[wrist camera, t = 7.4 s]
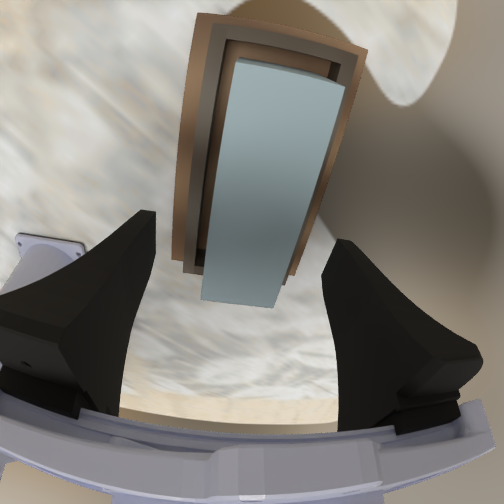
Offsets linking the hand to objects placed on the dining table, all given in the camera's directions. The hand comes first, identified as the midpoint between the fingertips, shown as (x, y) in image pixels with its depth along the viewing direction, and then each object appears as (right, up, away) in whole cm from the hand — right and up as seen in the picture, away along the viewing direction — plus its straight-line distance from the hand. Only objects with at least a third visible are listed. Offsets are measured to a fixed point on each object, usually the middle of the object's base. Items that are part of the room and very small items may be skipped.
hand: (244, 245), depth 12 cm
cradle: (+1, +6, +7) cm, 9 cm away
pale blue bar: (+1, +5, +7) cm, 9 cm away
